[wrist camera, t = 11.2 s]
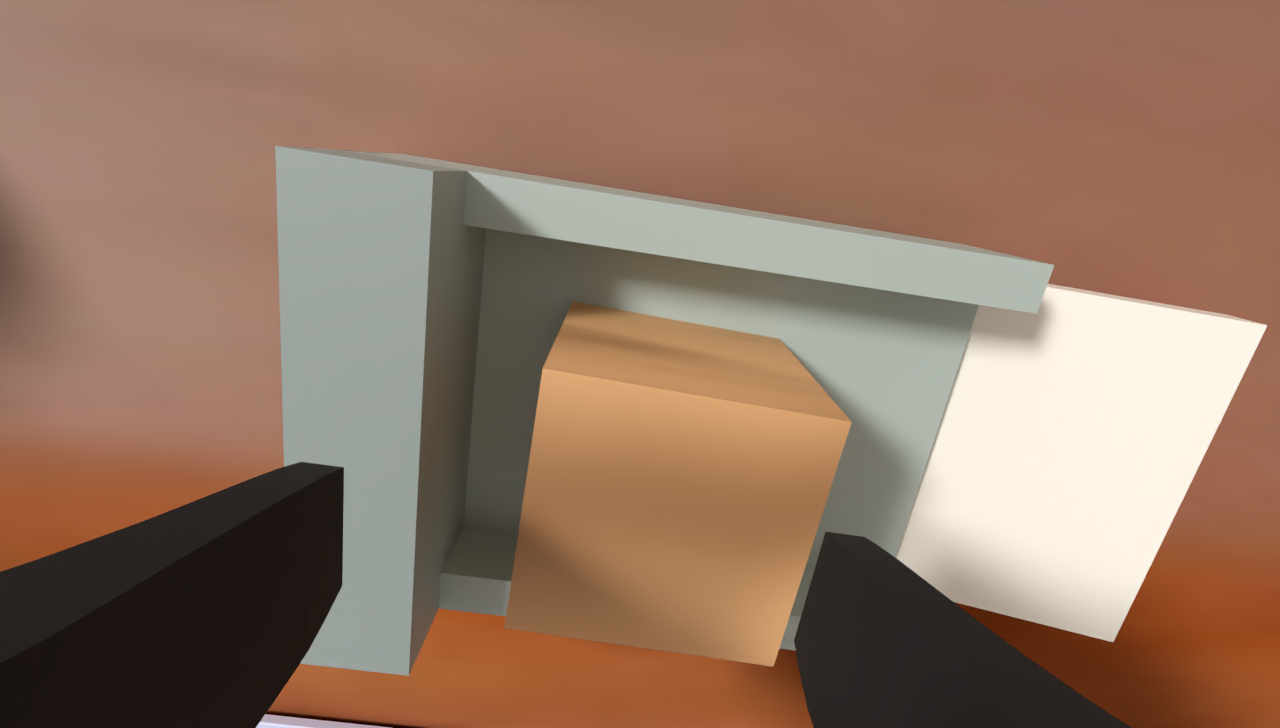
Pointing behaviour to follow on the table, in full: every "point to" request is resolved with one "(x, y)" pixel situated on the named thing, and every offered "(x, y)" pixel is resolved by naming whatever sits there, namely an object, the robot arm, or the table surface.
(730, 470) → the block
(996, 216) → the table surface
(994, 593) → the panel
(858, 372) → the bed
